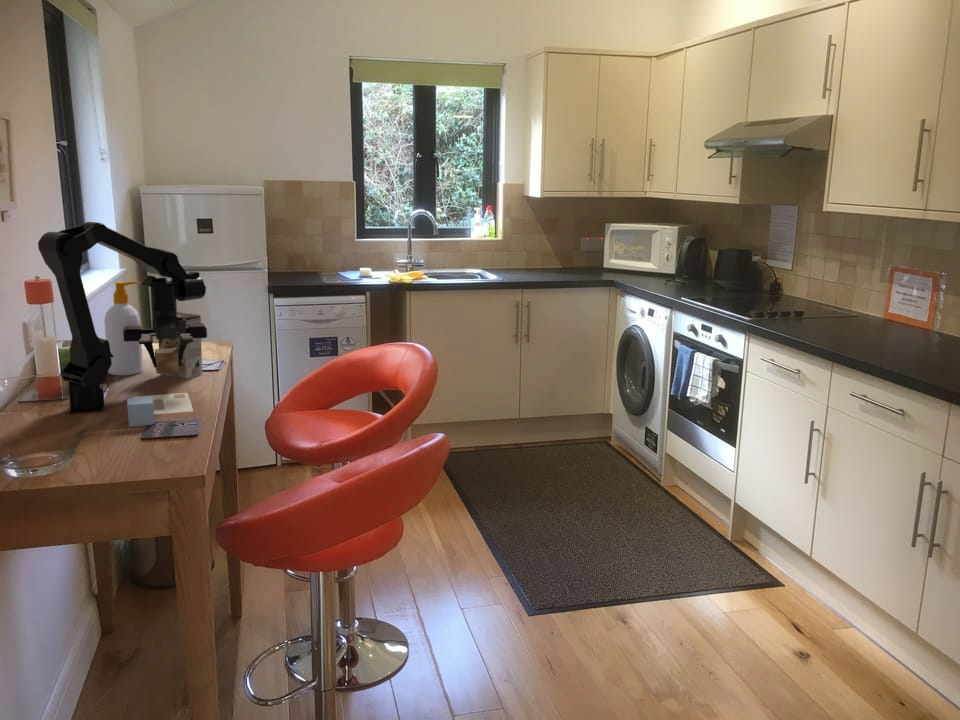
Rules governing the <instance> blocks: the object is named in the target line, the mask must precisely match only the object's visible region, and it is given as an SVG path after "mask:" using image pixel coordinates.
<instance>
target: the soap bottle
mask: <svg viewBox="0 0 960 720" xmlns="http://www.w3.org/2000/svg"><path fill="white" fill-rule="evenodd" d="M141 283H142V281H137V280H136V281H135V280H133V281H115V282H114V284H115V290H114V293H113V305H111V306H110V307H109V308H108V310H107V311H106V312H105V316H104V320H103V321H104V333H105V335H104V336H105V340H108V341H109V344H110V351H111V354H112V355H113V358H112V357H111V361H112V364H111V367H110V368H109V370H108V373H107V374H110V375H113V376H121V377H122V376H133V375H137V374H140V373H142V372H143V370H144V365H143V363H144V362H143V349H142V345H143V344H139V342H138V341H128V342H126V341H124V337H123V328H124V327H125V326H138V325H140V326H141V317H140V314H139V311H137V309H135V307H134V306H132V305H130V304H129V294H128V292H127V290H126V289H125V286H128V285H129V286H130V285H136V284H137V285H138V284H139V285H142V284H141Z"/></svg>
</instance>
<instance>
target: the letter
mask: <svg viewBox="0 0 960 720" xmlns="http://www.w3.org/2000/svg"><path fill="white" fill-rule="evenodd" d="M144 397H152V398H153V407H154V415H163V414H164V415H165V414H177V413H188V412H190V413H191V412H194V409H193V406H192V402H191V399H190V395H189V392H181V393H180V392H179V393H166V394H151V395H139V396H133V398H144Z"/></svg>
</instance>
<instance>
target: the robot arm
mask: <svg viewBox="0 0 960 720" xmlns="http://www.w3.org/2000/svg"><path fill="white" fill-rule="evenodd" d="M37 242H38V243H37V245H38V250H39V253H40V254H41V257H42V260H43V261H44V263H45V265H46V266H47V267H48V268H49V270H50V271H51V272H52V274H53V275H54V277H55V279H56V283H57V287H58V290H59V294H60V297H61V301H62V305H63V308H64V313H65V316H66V320H67V323H68V326H69V331H70V334H71V343H70V346H69V359H70V360H69V361H68V363H67V364H66V365H65V366H64V367H63V369H61V371H60V376H61V378H62V380H63V382H68V383H67V384H68V385H67V386H68V397H69V398H68V399H69V414H80V413H82V414H83V413H90V412H93V413H94V412H102V411H103V407H105V395H104V394H105V393H104V392H105V391H104V386H103V384H105V383H106V381H107V376H108V374H109V373H108V370H109V368H110V367H111V364H112V361H111V357H112V358H113V355H112V354H111V351H110V344H109V341H108V340H106V339H105V338H104V339H103V338H100V337H99V336H98V334H97V333H96V329H95V326H94V322H93V317H92V314H91V310H90V306H89V302H88V299H87V295H86V291H85V288H84V283H83V281H82V275H81V269H82V265H83V261H84V258H83V252H86V251H88V250H90V249H92V248H93V247H94V246H95V245H97V244H98V245H100V246H103V247H105V248H107V249H110V250H111V251H114V252H116V253H118V254H121V255H122V256H124V257H126V258H129V259H131V260H133V261H134V262H135V263H136V264H137V265H138V266H139V267H140V268H142V269H143V270H144V271H146V272H147V273H149V274H152V275H147V276H146V278H145V279H144V280H143V281H141V284H140V285H141V286H144V287H148V288H150V289H149V290H150V293H149V294H150V310H151V326H152V327H151V328H142V327H141V324H140V325H138V326H125V327H124V328H123V337H124V341H126V342H128V341H138V342H139V344H141V345H143V346H144V347H145V349H146V351H147V352H148V355H149V357H150V360H151V363H152V366H153V368H154V369H156V359H155V349H154V344H153V342H152V341H153V339H152V337H155V338H156V339H157V340H163V339H177V338H178V335H180V336H179V342H178V363H179V366H180V364H181V360H182V357H183V354H184V351H185V348H186V346H187V345H188V343H189V342H193V338H201V339H206V338H208V330H207V327H206V325H205V324H204V323H203V322H201V323H190V324H188V327H186V319H185V317H183V318H177V312H178V309H177V308H178V307H177V306H178V305H177V301H179V302H186V301H193V300H201V299H202V298H203V299H204V297H205V295H206V293H207V289H206V288H207V286H206V285H205V282H204V280H203V279H202V278H201V276H200V272H198V271H189V272H187V271H186V270H185V269H184V267H183V266H182V265H181V264H180V261H179V256H178V255H177V254H176V253H174V252H171V251H168V250H164V249H160V248H155V247H151V246H147V245H145V244H143V243H141V242H140V241H139V242H138V241H137V240H135V239H133V238H130V237H129V236H127V235H125V234H122V233H120V232H118V231H116V230H114V229H112V228H110V227H108V226H106V225H105V224H103V223H101V222H96V221H95V222H94V221H86V222H84V223H82V224H80V225H77V226H74V227H69V228H67V229H66V228H65V229H62V230H60V231H48V232H45V233H43V235H42V236H41V237H40V238H39V240H38V241H37ZM154 275H159V276H160V277H156V276H154ZM168 278H170V279H171V280H169V279H168ZM192 337H193V338H192Z"/></svg>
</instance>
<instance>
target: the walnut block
mask: <svg viewBox="0 0 960 720" xmlns="http://www.w3.org/2000/svg"><path fill="white" fill-rule="evenodd" d="M154 354H155V359H156V368H155V372H156V374H157V375H160V374H162V373H178V372H179V363H178V351H177V348H167V349H159V348H155V349H154Z"/></svg>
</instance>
